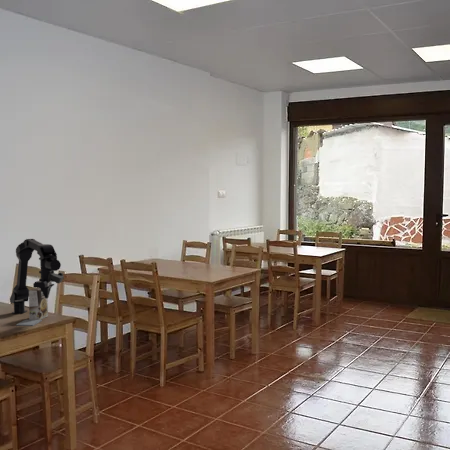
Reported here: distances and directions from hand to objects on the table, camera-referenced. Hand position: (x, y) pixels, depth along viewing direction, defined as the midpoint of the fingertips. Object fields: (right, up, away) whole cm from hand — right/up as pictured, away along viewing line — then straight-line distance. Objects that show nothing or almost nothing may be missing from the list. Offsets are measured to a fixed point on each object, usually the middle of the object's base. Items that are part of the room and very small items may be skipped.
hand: (46, 298), depth 284 cm
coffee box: (-8, -13, +11) cm, 18 cm away
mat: (-9, -13, -1) cm, 16 cm away
